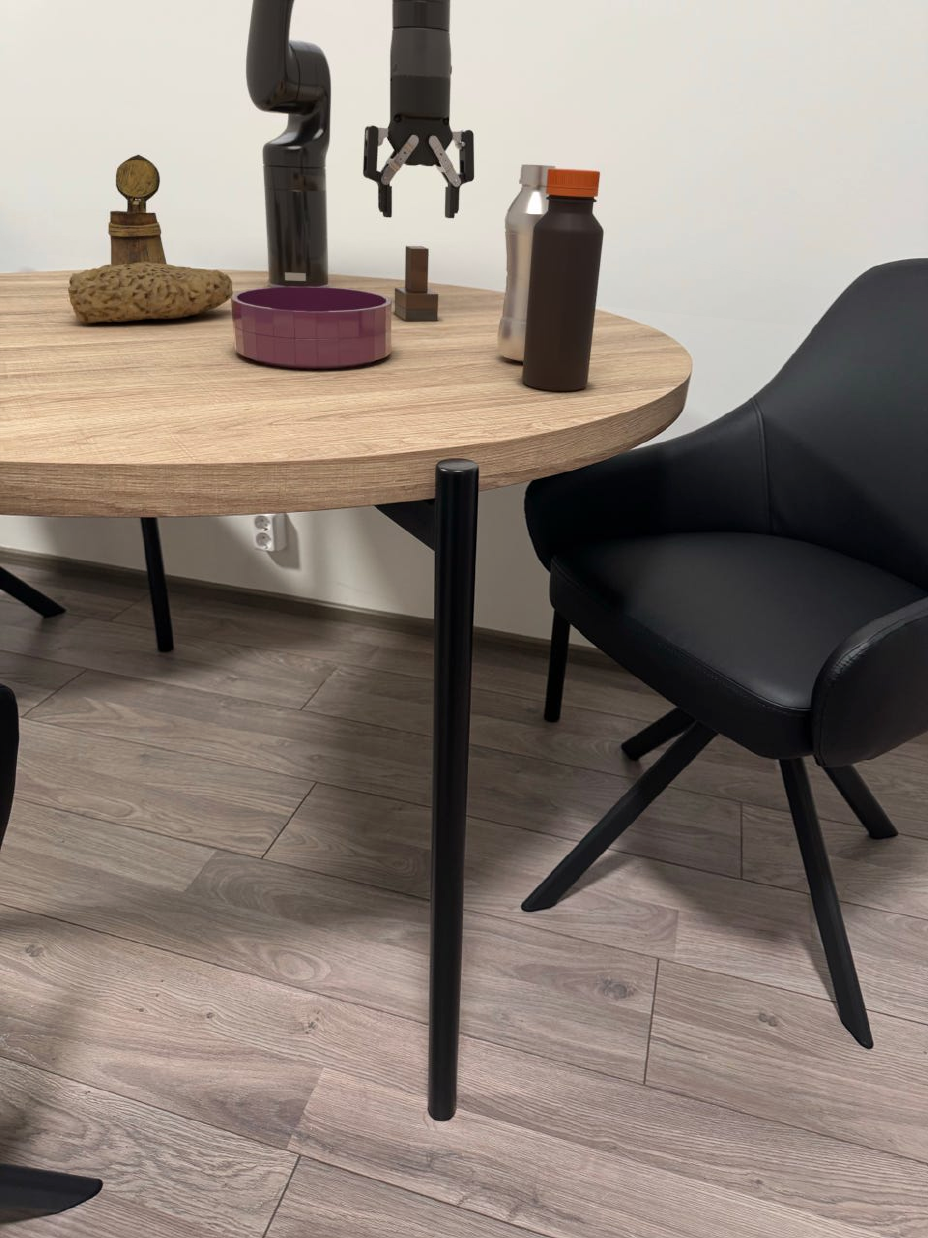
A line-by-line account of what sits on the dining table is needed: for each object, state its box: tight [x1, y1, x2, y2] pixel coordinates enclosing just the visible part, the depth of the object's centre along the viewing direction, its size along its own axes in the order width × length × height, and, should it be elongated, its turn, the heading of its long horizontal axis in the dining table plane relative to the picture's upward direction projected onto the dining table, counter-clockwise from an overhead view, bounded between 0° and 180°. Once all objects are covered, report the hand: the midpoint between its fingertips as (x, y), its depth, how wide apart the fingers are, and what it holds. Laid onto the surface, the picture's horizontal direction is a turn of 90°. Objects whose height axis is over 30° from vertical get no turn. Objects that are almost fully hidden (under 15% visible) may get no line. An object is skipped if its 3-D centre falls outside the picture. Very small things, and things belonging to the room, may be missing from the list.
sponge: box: [67, 262, 234, 324], centre depth 115 cm, size 13×8×20 cm
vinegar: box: [521, 168, 605, 392], centre depth 90 cm, size 7×7×20 cm
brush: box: [394, 245, 439, 322], centre depth 124 cm, size 6×4×9 cm
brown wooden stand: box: [107, 154, 168, 266], centre depth 128 cm, size 9×14×18 cm, turn 8°
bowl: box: [230, 286, 393, 370], centre depth 101 cm, size 17×17×6 cm
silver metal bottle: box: [496, 164, 556, 363], centre depth 99 cm, size 6×7×20 cm
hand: (418, 217), depth 120 cm, fingers open, 8 cm apart
